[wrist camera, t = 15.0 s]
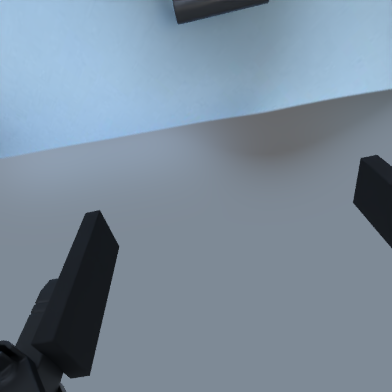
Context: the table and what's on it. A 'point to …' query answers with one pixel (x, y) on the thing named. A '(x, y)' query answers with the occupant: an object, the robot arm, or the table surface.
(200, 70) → the table surface
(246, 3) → the drawer
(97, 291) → the robot arm
